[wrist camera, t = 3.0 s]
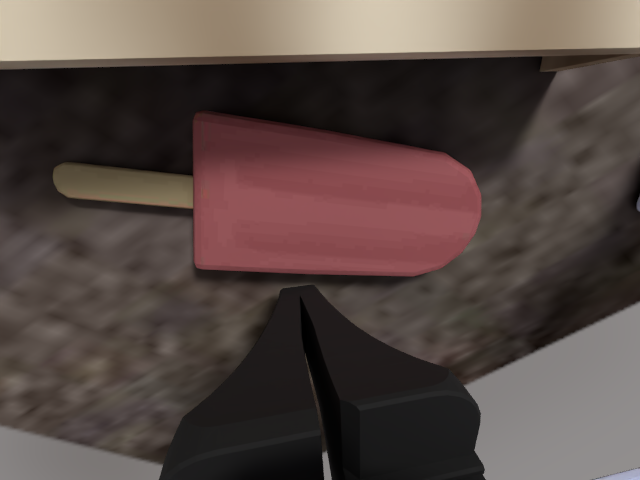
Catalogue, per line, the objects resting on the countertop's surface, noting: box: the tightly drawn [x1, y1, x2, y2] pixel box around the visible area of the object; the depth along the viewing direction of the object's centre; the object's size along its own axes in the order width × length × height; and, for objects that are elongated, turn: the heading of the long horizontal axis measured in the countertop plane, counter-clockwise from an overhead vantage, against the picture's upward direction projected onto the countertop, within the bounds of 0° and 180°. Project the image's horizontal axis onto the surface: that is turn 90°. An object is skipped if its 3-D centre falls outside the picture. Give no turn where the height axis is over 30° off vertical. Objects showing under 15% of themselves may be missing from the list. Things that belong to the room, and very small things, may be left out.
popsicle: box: [53, 110, 481, 276], centre depth 11 cm, size 5×2×15 cm
